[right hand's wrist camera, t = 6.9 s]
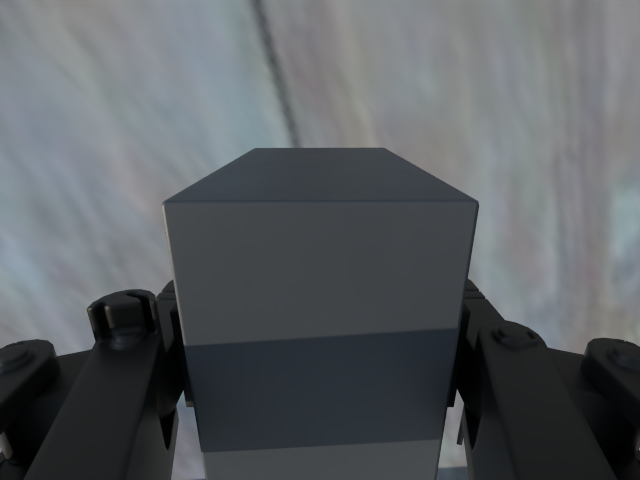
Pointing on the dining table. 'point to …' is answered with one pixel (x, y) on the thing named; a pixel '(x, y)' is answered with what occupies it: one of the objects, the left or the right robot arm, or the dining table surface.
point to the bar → (320, 312)
